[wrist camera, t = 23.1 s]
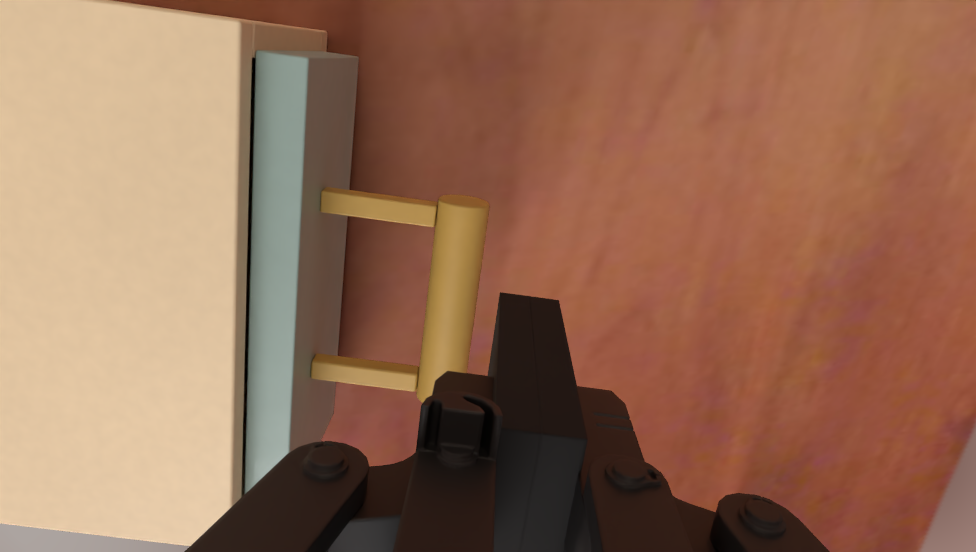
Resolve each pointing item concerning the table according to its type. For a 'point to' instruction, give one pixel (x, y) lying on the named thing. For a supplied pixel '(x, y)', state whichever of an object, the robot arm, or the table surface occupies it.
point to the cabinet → (125, 263)
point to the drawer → (330, 258)
